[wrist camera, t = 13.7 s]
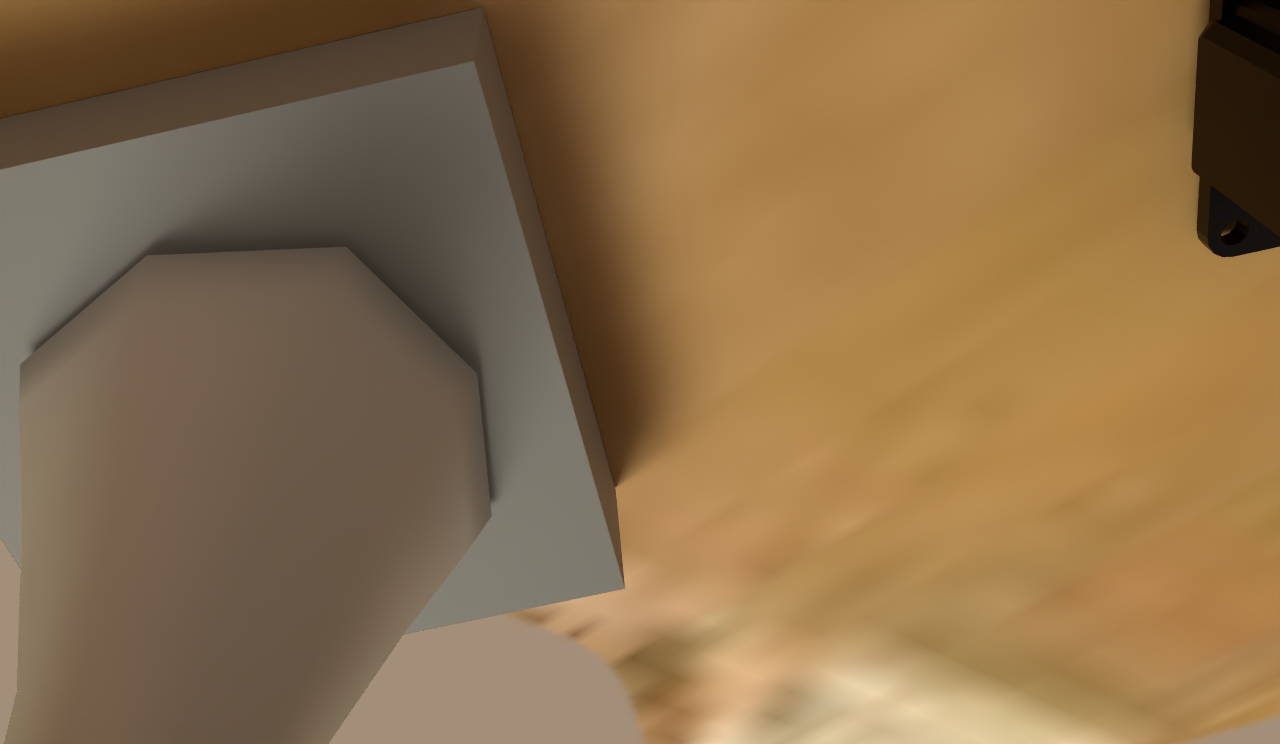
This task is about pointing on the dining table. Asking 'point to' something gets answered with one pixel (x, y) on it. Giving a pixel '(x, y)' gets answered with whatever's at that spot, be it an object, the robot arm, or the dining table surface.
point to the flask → (234, 499)
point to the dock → (337, 217)
